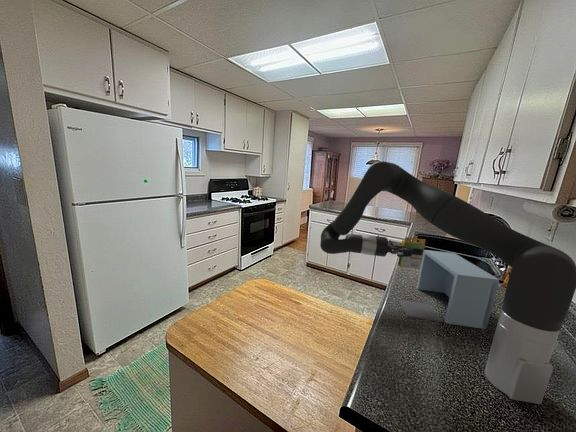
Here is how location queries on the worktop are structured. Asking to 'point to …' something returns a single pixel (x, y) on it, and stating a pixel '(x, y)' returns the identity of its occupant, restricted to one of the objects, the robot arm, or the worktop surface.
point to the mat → (419, 310)
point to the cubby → (459, 287)
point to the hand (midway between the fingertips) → (419, 250)
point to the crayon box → (414, 259)
